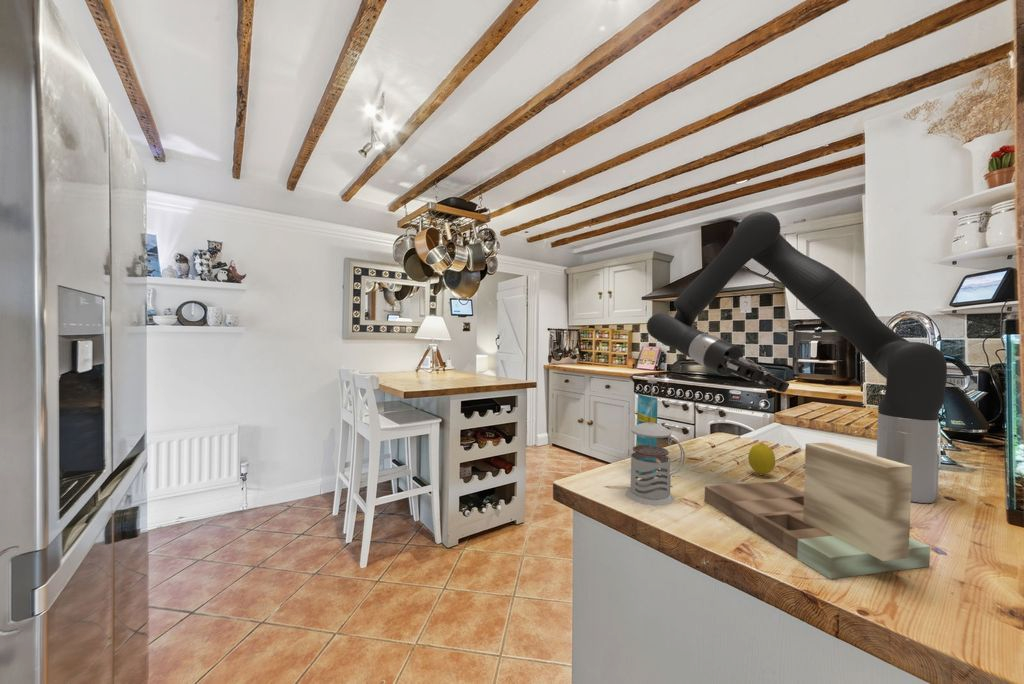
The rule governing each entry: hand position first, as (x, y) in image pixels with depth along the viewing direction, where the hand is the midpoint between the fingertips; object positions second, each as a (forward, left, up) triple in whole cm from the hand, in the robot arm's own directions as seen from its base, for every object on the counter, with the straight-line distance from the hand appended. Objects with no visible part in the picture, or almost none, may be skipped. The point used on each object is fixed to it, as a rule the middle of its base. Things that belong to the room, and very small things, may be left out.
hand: (785, 388), depth 78 cm
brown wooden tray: (+5, +8, -24) cm, 26 cm away
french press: (+23, -9, -24) cm, 34 cm away
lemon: (-10, -16, -24) cm, 30 cm away
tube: (+18, -21, -24) cm, 36 cm away
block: (+5, +17, -21) cm, 27 cm away
